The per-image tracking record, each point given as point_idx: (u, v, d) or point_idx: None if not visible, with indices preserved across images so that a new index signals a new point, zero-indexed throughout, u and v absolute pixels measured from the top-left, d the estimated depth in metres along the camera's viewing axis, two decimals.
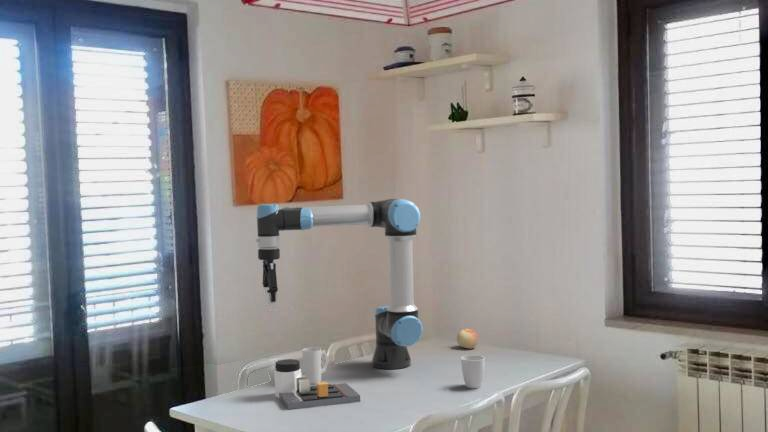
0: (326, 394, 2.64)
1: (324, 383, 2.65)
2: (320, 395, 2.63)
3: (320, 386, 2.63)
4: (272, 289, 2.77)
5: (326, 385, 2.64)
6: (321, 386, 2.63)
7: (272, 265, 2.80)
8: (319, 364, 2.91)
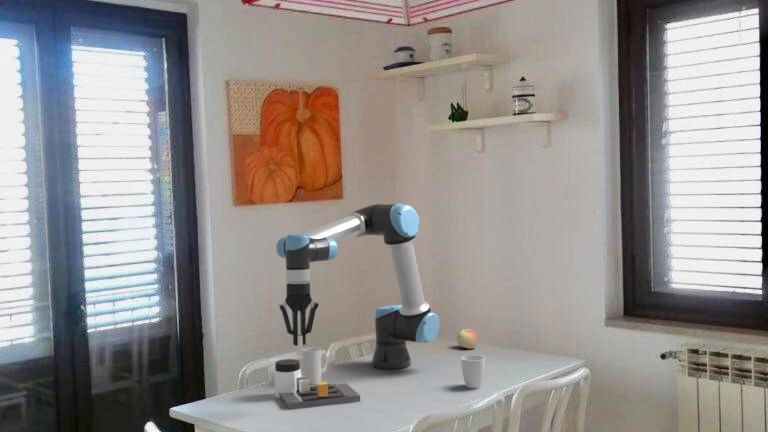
0: (326, 394, 2.64)
1: (324, 383, 2.65)
2: (320, 395, 2.63)
3: (320, 386, 2.63)
4: (287, 331, 2.61)
5: (326, 385, 2.64)
6: (321, 386, 2.63)
7: None
8: (319, 364, 2.91)
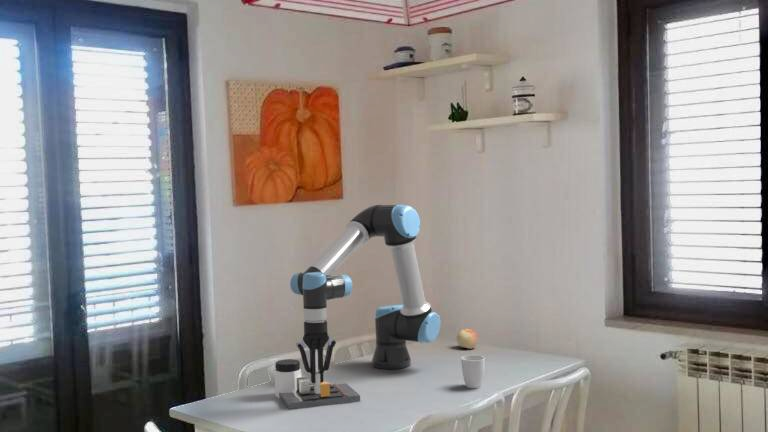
0: (328, 394, 2.64)
1: (326, 383, 2.65)
2: (322, 395, 2.63)
3: (322, 386, 2.63)
4: (305, 369, 2.63)
5: (328, 385, 2.64)
6: (323, 386, 2.63)
7: (297, 346, 2.62)
8: None
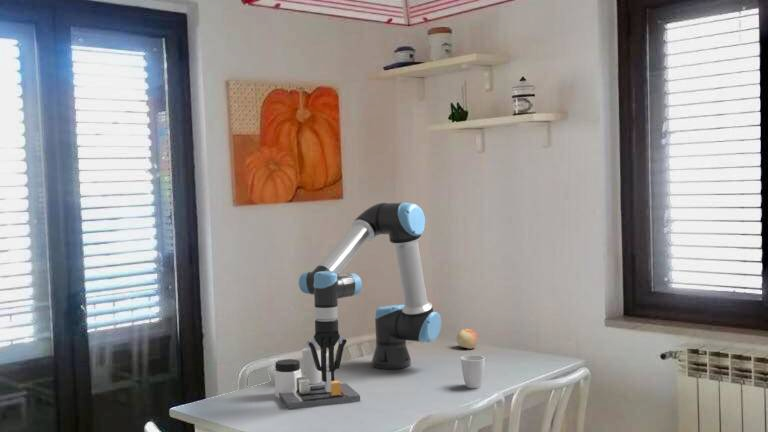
0: (339, 393, 2.65)
1: (336, 382, 2.66)
2: (333, 394, 2.64)
3: (333, 385, 2.64)
4: (316, 367, 2.64)
5: (339, 384, 2.65)
6: (334, 385, 2.64)
7: None
8: None
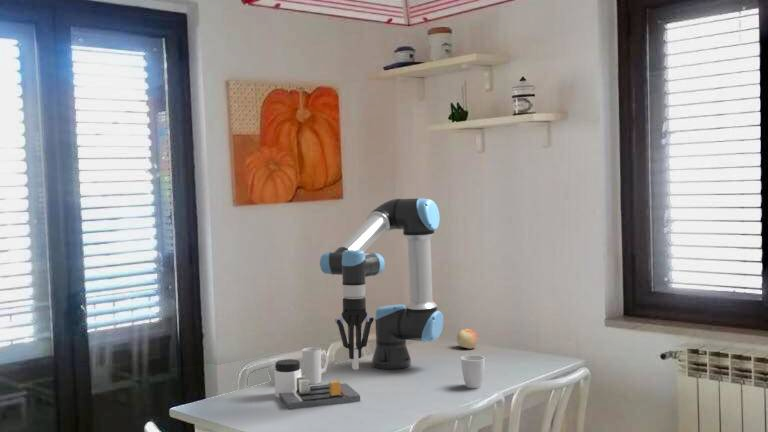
0: (339, 393, 2.65)
1: (336, 382, 2.66)
2: (333, 394, 2.64)
3: (333, 385, 2.64)
4: (343, 345, 2.67)
5: (339, 384, 2.65)
6: (334, 385, 2.64)
7: (336, 322, 2.65)
8: (319, 364, 2.91)
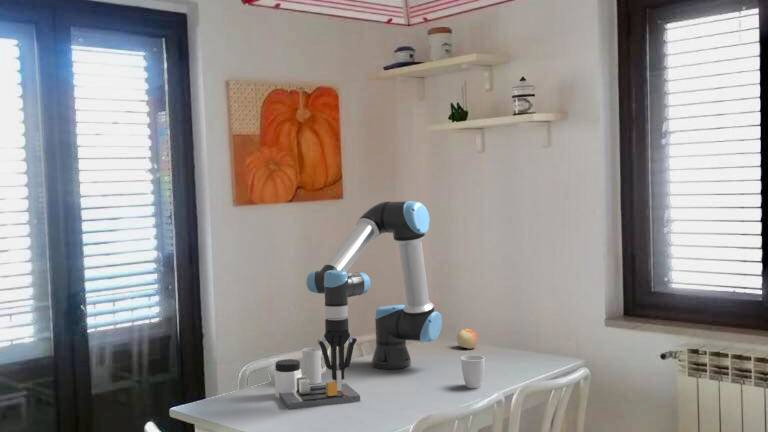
0: (335, 393, 2.65)
1: (333, 382, 2.66)
2: (329, 394, 2.64)
3: (329, 385, 2.64)
4: (326, 366, 2.65)
5: (335, 384, 2.65)
6: (330, 385, 2.64)
7: (319, 343, 2.64)
8: (319, 364, 2.91)
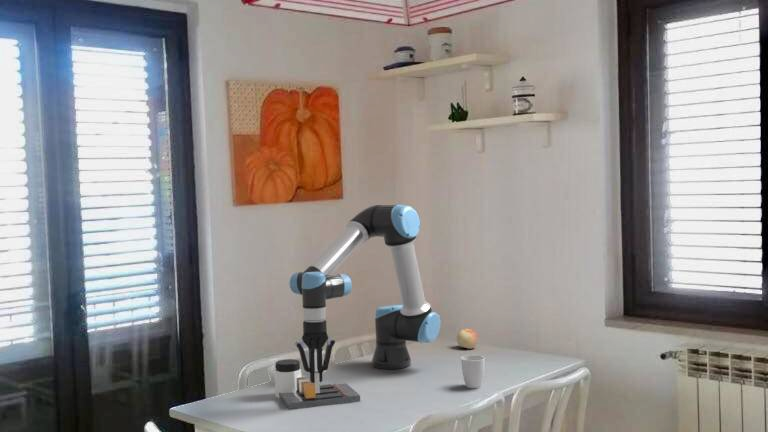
0: (313, 395, 2.62)
1: (311, 384, 2.63)
2: (307, 396, 2.62)
3: (307, 387, 2.62)
4: (304, 368, 2.63)
5: (313, 386, 2.62)
6: (308, 387, 2.62)
7: None
8: None
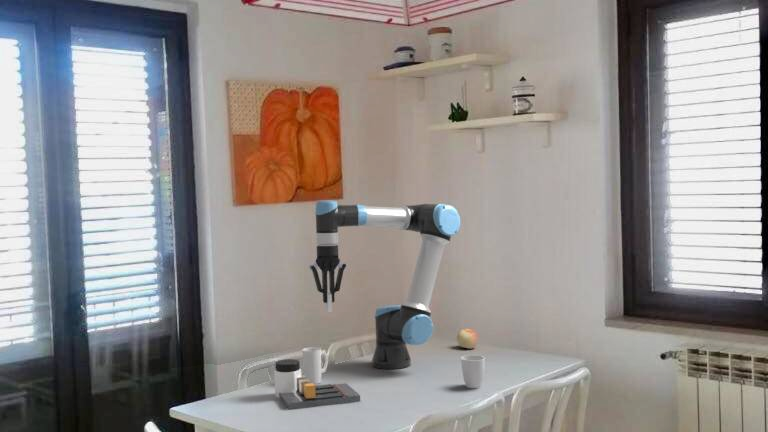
0: (313, 395, 2.62)
1: (311, 384, 2.63)
2: (307, 396, 2.62)
3: (307, 387, 2.62)
4: (318, 289, 2.84)
5: (313, 386, 2.62)
6: (308, 387, 2.62)
7: (310, 268, 2.82)
8: (319, 364, 2.91)
